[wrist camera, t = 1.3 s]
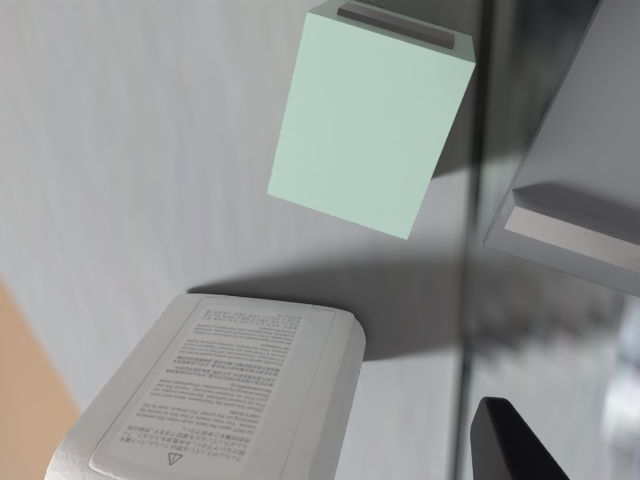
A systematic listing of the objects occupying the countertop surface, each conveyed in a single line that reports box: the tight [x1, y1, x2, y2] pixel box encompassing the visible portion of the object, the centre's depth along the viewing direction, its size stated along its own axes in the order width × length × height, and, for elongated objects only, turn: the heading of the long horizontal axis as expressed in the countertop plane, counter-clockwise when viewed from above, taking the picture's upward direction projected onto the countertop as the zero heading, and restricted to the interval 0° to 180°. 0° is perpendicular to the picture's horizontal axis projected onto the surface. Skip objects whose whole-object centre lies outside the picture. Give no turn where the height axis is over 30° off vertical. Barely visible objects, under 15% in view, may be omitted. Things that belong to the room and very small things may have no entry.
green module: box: [267, 0, 476, 240], centre depth 19 cm, size 5×6×5 cm
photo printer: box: [44, 294, 366, 480], centre depth 23 cm, size 10×4×12 cm, turn 93°
